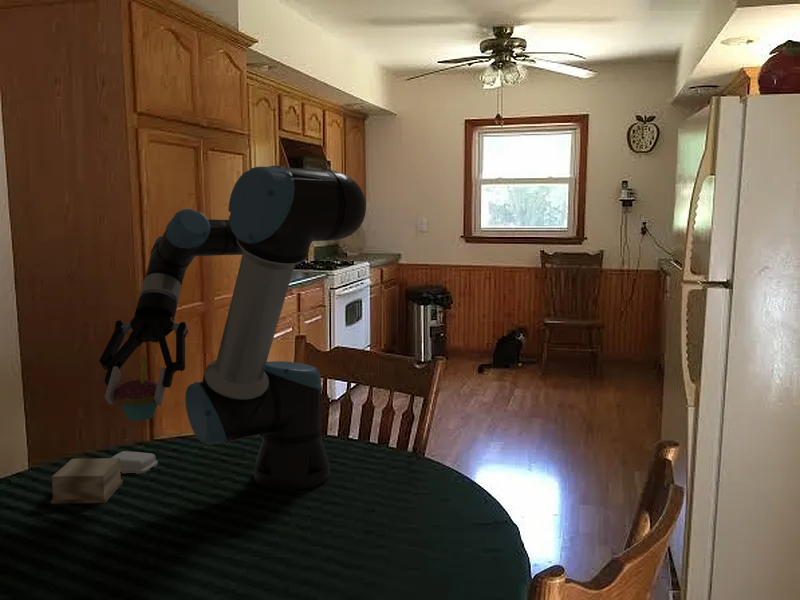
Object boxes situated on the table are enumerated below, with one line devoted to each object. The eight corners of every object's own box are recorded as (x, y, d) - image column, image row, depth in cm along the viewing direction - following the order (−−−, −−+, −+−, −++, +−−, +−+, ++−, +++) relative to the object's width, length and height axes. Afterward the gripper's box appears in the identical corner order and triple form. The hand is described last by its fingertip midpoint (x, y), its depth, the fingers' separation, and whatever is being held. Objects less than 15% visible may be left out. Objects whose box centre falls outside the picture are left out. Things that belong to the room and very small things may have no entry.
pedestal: (122, 482, 133) (122, 457, 132) (105, 502, 124) (104, 476, 123) (72, 482, 132) (71, 458, 132) (50, 503, 123) (49, 477, 122)
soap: (102, 473, 139) (101, 459, 138) (121, 461, 145) (120, 448, 145) (143, 476, 137) (142, 462, 137) (160, 464, 144) (159, 451, 143)
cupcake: (173, 414, 131) (171, 353, 129) (137, 427, 123) (135, 363, 121) (140, 407, 134) (139, 348, 133) (104, 419, 127) (102, 356, 125)
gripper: (213, 312, 142) (195, 411, 128) (111, 310, 141) (82, 409, 127) (207, 291, 136) (186, 392, 122) (100, 288, 135) (68, 390, 121)
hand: (133, 401), depth 125 cm, fingers closed on cupcake, 8 cm apart
